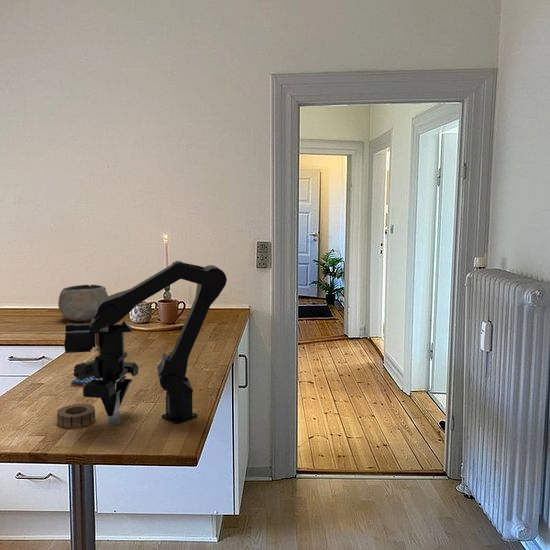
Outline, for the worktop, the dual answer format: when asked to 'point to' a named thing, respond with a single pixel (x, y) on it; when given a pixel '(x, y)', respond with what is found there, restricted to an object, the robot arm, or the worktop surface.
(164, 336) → the worktop surface
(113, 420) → the grey cylinder
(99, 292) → the clay pot
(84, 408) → the walnut gear
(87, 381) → the woven mat
